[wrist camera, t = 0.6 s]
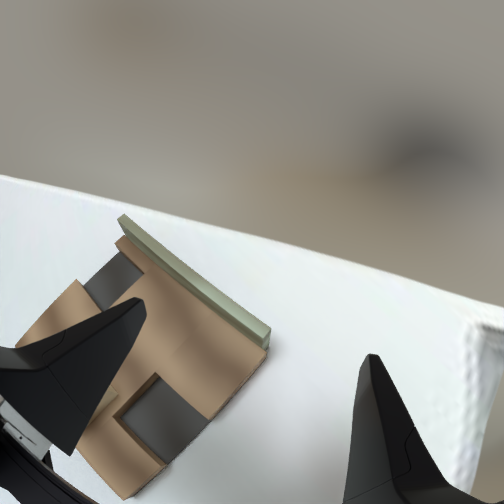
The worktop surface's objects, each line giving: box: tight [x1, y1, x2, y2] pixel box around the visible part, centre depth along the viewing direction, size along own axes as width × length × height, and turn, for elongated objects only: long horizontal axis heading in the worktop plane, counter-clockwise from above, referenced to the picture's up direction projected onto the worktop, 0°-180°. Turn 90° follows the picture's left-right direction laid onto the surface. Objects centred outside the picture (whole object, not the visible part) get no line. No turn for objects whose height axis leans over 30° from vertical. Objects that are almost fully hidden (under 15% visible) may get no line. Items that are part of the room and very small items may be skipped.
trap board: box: [15, 214, 271, 501], centre depth 22 cm, size 20×20×5 cm
